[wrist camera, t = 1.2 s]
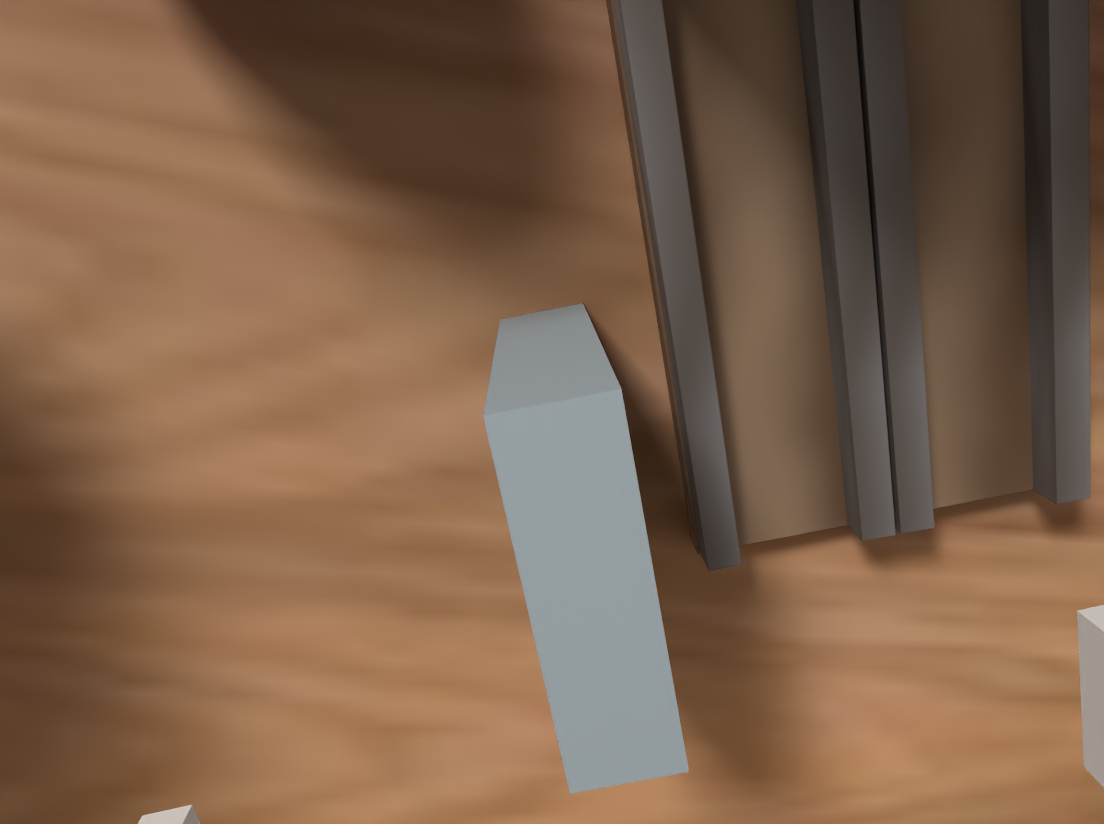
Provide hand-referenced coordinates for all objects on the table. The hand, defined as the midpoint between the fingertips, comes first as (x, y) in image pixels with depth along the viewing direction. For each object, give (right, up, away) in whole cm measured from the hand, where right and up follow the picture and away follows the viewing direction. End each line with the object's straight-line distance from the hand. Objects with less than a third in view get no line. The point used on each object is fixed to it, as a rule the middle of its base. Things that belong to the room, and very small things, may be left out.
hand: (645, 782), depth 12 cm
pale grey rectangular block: (-1, +4, +18) cm, 19 cm away
